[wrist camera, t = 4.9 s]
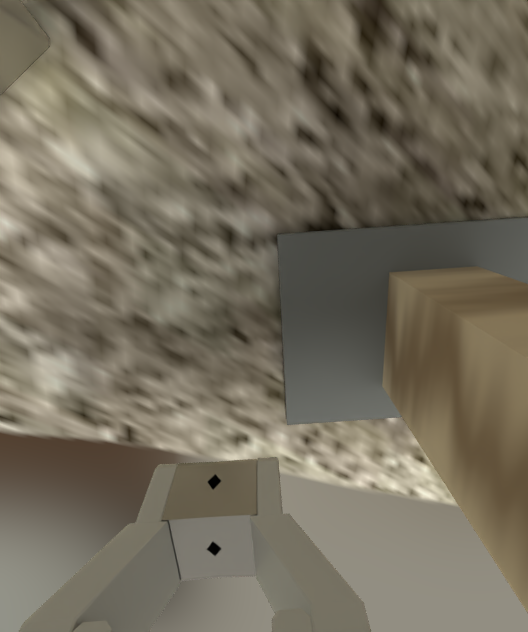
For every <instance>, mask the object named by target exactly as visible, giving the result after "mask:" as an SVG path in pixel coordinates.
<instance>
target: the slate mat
mask: <svg viewBox="0 0 528 632" xmlns="http://www.w3.org/2000/svg"><path fill="white" fill-rule="evenodd" d="M277 242H278V262H279V281H280V301H281V321H282V340H283V360H284V380H285V400H286V419H287V425H293V424H308V423H323V422H337V421H352V420H367V419H382V418H397V417H402V416H401V415H400V413H399V412H398V410H397V408H396V407H395V405H394V404H393V402H392V401H391V399H390V397H389V396H388V394H387V393H386V391H385V390H384V388H383V387H382V384H383V367H384V351H385V335H386V319H387V303H388V287H389V272H402V271H416V270H431V269H445V268H460V267H475V266H478V267H480V268H483V269H486V270H489V271H492V272H495V273H498V274H501V275H503V276H506V277H509V278H512V279H515V280H518V281H521V282H524V283H526V284H528V217H515V218H500V219H486V220H471V221H457V222H442V223H428V224H413V225H399V226H384V227H370V228H355V229H341V230H326V231H312V232H297V233H283V234H277Z"/></svg>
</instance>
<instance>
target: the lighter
mask: <svg viewBox="0 0 528 632" xmlns="http://www.w3.org/2000/svg"><path fill="white" fill-rule="evenodd" d="M49 47H50V43H49V38H48V36H47V35H46V34H45V32H44V31H43V30H42V28H41V27H40V26H39V24H38V23H37V22H36V21H35V19H34V18H33V17H32V15H31V14H30V13H29V11H28V10H27V9H26V7H25V6H24V5H23V3H22V2H21V1H20V0H0V95H1V94H2V93H3V92H4V91H5V90H6V89H7V88H8V87H9V86H10V85H11V84H12V83H13V82H14V81H15V80H16V79H17V78H18V77H19V76H20V75H21V74H22V73H23V72H24V71H25V70H26V69H27V68H28V67H29V66H30V65H31V64H32V63H33V62H34V61H35V60H36V59H37V58H38V57H39V56H41V55H42V54H43V53H44V52H45V51H46V50H47V49H48V48H49Z"/></svg>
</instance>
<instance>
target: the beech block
mask: <svg viewBox="0 0 528 632" xmlns="http://www.w3.org/2000/svg"><path fill="white" fill-rule="evenodd" d="M382 387H383V388H384V390H385V391H386V393H387V394H388V396H389V397H390V399H391V401H392V402H393V404H394V405H395V407H396V408H397V410H398V412H399V413H400V415H401V416H402V418H403V419H404V421H405V422H406V424H407V426H408V427H409V429H410V430H411V432H412V433H413V435H414V436H415V438H416V440H417V441H418V443H419V444H420V446H421V447H422V449H423V450H424V452H425V454H426V455H427V457H428V458H429V460H430V461H431V463H432V465H433V466H434V468H435V469H436V471H437V472H438V474H439V475H440V477H441V479H442V480H443V482H444V483H445V485H446V486H447V488H448V489H449V491H450V493H451V494H452V496H453V497H454V499H455V500H456V502H457V504H458V505H459V507H460V508H461V510H462V511H463V513H464V514H465V516H466V518H467V519H468V521H469V522H470V524H471V525H472V527H473V528H474V530H475V531H476V533H477V535H478V536H479V538H480V539H481V541H482V542H483V544H484V546H485V547H486V549H487V550H488V552H489V553H490V555H491V556H492V558H493V559H494V561H495V563H496V564H497V566H498V567H499V569H500V570H501V572H502V574H503V575H504V577H505V578H506V580H507V581H508V583H509V584H510V586H511V588H512V589H513V591H514V592H515V594H516V595H517V597H518V598H519V600H520V602H521V603H522V605H523V606H524V608H525V610H526V611H527V613H528V284H526V283H524V282H521V281H518V280H515V279H512V278H509V277H506V276H503V275H501V274H498V273H495V272H492V271H489V270H486V269H483V268H480V267H478V266H475V267H460V268H445V269H431V270H416V271H402V272H389V287H388V303H387V319H386V335H385V351H384V367H383V384H382Z"/></svg>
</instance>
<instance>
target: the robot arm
mask: <svg viewBox="0 0 528 632" xmlns="http://www.w3.org/2000/svg"><path fill="white" fill-rule="evenodd" d="M245 576H246V577H247V576H248V577H249V576H256V578H257V581H258V582H259V584H260V586H261V588H262V590H263V592H264V594H265V596H266V597H267V599H268V601H269V603H270V605H271V607H272V609H273V611H274V613H275V616H274V617H273V618H272V632H371V629H370V625H369V621H368V617H367V613H366V610H365V606H364V602H363V601H362V600H361V599H360V598H359V597H358V595H357V594H356V593H355V592H354V591H353V589H352V588H351V587H350V586H349V585H348V583H347V582H346V581H345V580H344V579H343V577H342V576H341V575H340V574H339V573H338V571H337V570H336V569H335V568H334V567H333V565H332V564H331V563H330V562H329V561H328V560H327V558H326V557H325V556H324V555H323V554H322V552H321V551H320V550H319V549H318V548H317V546H316V545H315V544H314V543H313V542H312V540H311V539H310V538H309V537H308V536H307V534H306V533H305V532H304V531H303V530H302V528H301V527H300V526H299V525H298V524H297V523H296V521H295V520H294V519H293V518H292V517H291V515H290V514H283V512H282V500H281V487H280V475H279V462H278V458H277V457H270V458H258V461H257V459H248V460H234V461H220V462H199V463H179V464H159V465H158V467H157V468H156V469H155V471H154V474H153V477H152V479H151V482H150V485H149V488H148V490H147V493H146V496H145V499H144V501H143V504H142V507H141V510H140V512H139V515H138V518H137V520H136V523H132V524H128V525H127V526H126V527H125V528H124V529H123V530H122V531H121V532H120V533H119V534H118V535H117V536H115V537H114V538H113V539H112V540H111V541H110V542H109V543H108V544H107V545H106V546H105V547H104V548H103V549H102V550H101V551H99V552H98V553H97V554H96V555H95V556H94V557H93V558H92V559H91V560H90V561H89V562H88V563H87V564H86V565H84V566H83V567H82V568H81V569H80V570H79V571H78V572H77V573H76V574H75V575H74V576H73V577H72V578H71V579H70V580H69V581H68V582H66V583H65V584H64V585H63V586H62V587H61V588H60V589H59V590H58V591H57V592H56V593H55V594H54V595H53V596H51V597H50V598H49V599H48V600H47V601H46V602H45V603H44V604H43V605H42V606H41V607H40V608H39V609H38V610H37V611H36V612H34V613H33V614H32V615H31V616H30V617H29V618H28V619H27V620H26V621H25V622H24V623H23V625H22V626H21V628H20V630H19V632H149V631H150V630H151V628H152V626H153V625H154V624H155V622H156V621H157V619H158V617H159V616H160V614H161V613H162V611H163V610H164V608H165V607H166V605H167V604H168V602H169V601H170V599H171V598H172V596H173V595H174V593H175V592H176V590H177V589H178V587H179V586H180V584H181V583H180V581H186V580H197V579H207V578H217V577H245Z"/></svg>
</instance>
